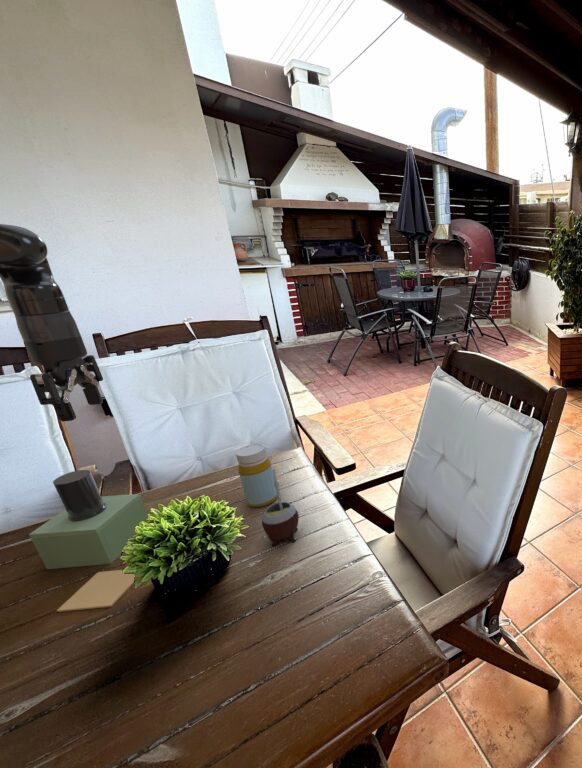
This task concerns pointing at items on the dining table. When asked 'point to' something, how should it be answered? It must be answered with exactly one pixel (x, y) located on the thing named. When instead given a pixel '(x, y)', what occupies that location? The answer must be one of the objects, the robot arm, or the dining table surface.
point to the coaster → (99, 591)
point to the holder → (79, 495)
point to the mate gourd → (280, 519)
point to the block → (89, 534)
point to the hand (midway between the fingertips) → (83, 411)
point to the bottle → (256, 475)
